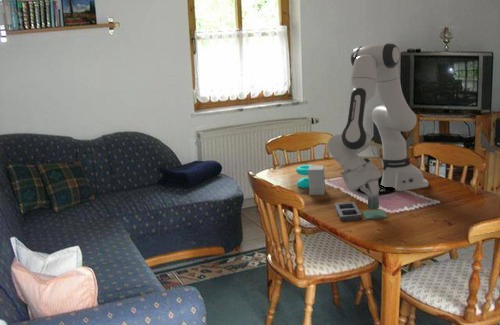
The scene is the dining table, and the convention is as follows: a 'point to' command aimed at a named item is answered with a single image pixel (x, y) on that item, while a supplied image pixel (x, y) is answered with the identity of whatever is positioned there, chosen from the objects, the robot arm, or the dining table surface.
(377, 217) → the mat
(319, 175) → the supplement box
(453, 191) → the dining table surface
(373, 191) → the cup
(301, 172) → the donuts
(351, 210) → the grey double frame
